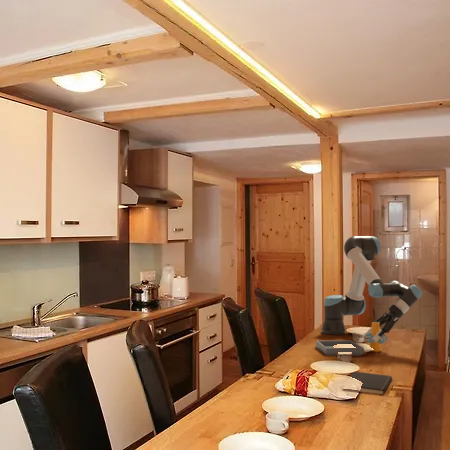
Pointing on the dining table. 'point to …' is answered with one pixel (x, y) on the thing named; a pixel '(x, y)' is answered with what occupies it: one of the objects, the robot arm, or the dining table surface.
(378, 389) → the hardcover book
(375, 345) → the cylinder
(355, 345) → the tray
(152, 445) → the dining table surface
